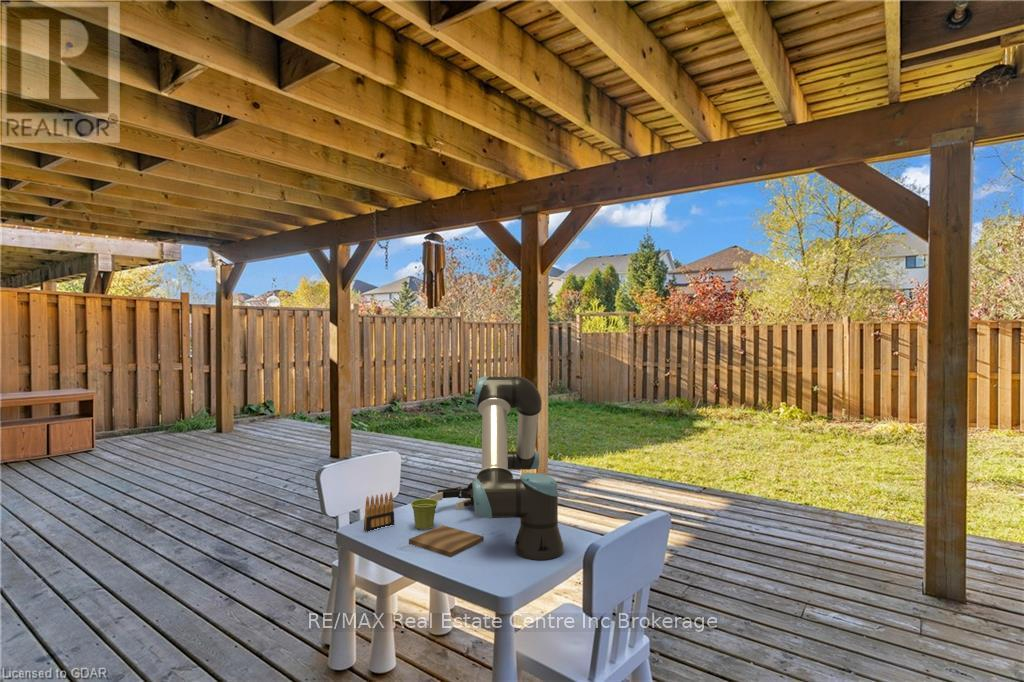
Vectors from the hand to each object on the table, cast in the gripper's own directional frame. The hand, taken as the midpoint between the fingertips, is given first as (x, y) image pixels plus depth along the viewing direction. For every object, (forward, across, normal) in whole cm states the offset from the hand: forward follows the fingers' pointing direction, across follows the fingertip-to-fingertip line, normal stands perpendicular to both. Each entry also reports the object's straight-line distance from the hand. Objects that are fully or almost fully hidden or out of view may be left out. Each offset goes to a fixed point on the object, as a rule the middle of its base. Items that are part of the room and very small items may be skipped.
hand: (443, 503), depth 191 cm
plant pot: (+10, 0, -6) cm, 12 cm away
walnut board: (+16, -16, -6) cm, 23 cm away
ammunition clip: (+20, +12, -6) cm, 24 cm away
